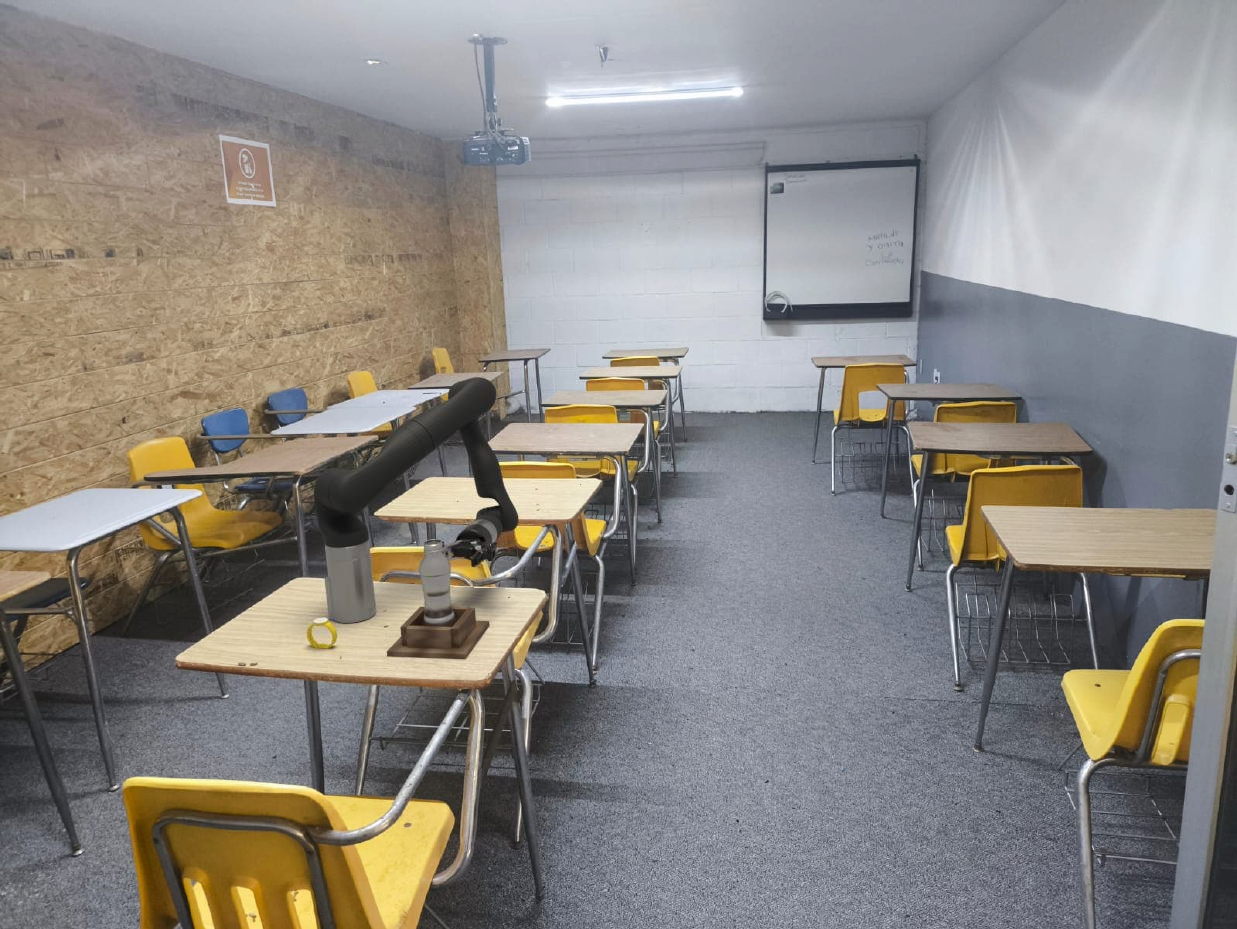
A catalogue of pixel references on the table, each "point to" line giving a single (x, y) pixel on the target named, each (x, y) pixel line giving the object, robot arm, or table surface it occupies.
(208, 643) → the table surface
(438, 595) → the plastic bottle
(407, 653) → the bottle rack
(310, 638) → the watch
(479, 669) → the table surface
